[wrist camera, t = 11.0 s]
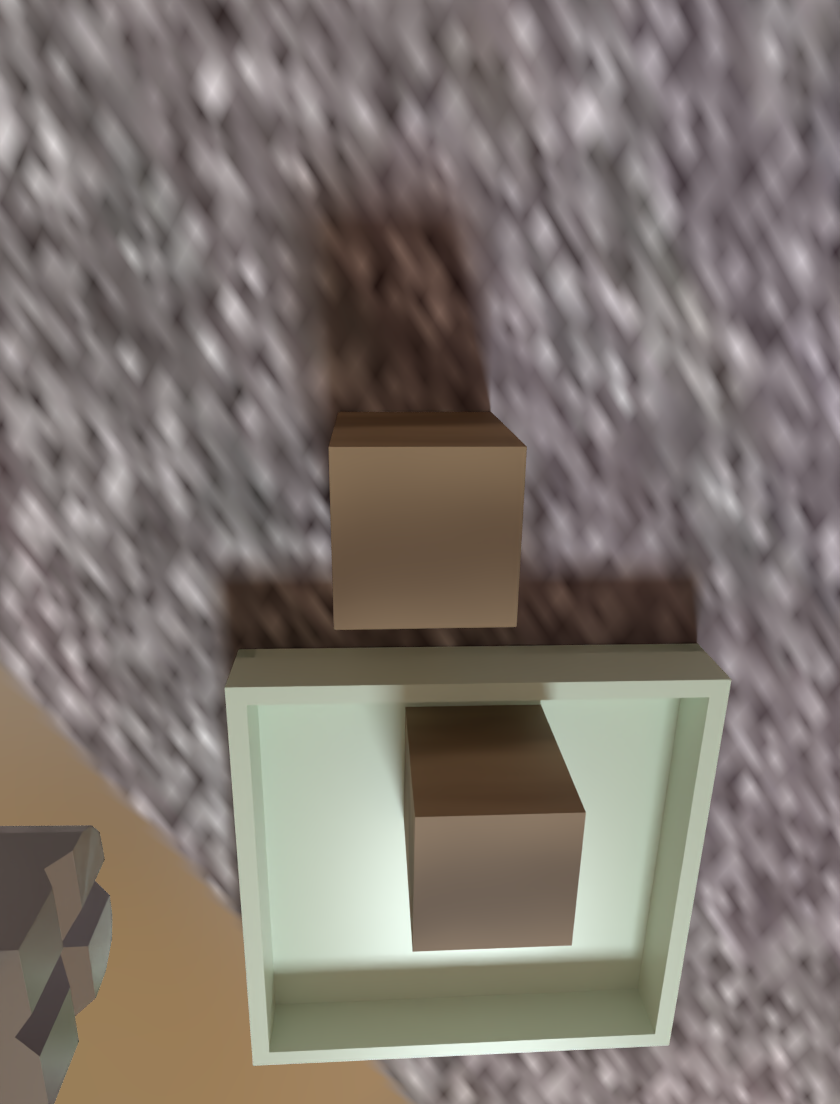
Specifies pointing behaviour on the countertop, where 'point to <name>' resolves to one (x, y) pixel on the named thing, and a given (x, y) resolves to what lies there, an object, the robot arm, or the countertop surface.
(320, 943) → the tray
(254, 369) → the countertop surface
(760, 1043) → the countertop surface
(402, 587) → the block
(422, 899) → the block
